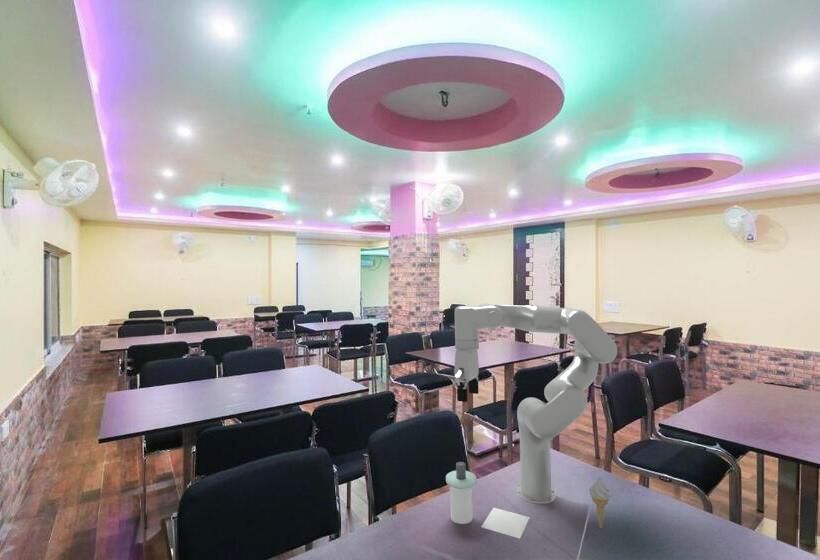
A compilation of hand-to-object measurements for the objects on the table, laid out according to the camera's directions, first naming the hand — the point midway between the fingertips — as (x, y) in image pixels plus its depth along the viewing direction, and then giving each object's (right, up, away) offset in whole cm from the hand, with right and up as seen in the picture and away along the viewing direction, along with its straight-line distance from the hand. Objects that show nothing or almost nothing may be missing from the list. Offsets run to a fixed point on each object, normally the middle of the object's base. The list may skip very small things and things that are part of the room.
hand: (468, 397), depth 131 cm
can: (-4, -34, -11) cm, 36 cm away
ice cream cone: (+35, -33, -16) cm, 51 cm away
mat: (+9, -33, -14) cm, 37 cm away
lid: (-4, -22, -11) cm, 25 cm away
